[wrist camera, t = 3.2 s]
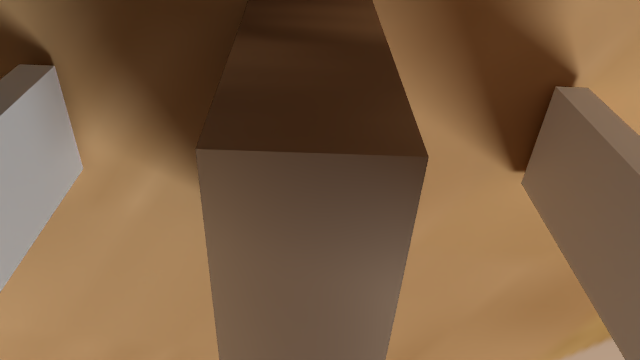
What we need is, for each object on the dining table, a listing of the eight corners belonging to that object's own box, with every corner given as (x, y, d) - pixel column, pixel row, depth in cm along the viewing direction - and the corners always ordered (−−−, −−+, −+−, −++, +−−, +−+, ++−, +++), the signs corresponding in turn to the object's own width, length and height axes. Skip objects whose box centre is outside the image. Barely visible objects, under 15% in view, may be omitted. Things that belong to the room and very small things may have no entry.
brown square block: (257, 218, 14) (227, 436, 9) (250, -6, 10) (195, 148, 5) (347, 220, 14) (368, 438, 9) (372, -1, 10) (429, 156, 5)
